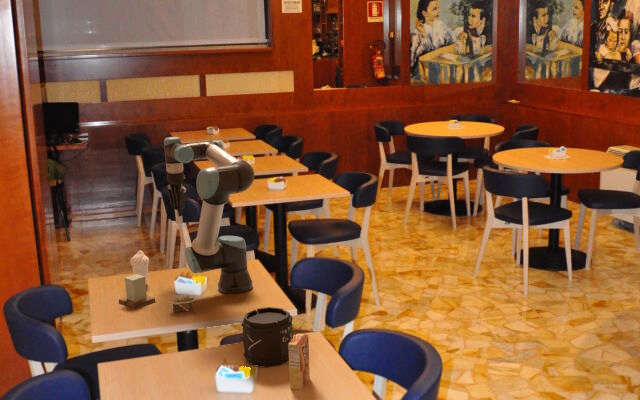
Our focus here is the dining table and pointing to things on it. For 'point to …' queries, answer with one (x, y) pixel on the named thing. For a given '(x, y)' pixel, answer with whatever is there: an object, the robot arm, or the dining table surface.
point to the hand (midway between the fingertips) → (179, 222)
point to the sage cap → (135, 287)
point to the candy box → (299, 361)
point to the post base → (138, 303)
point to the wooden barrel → (267, 336)
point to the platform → (182, 304)
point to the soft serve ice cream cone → (140, 264)
